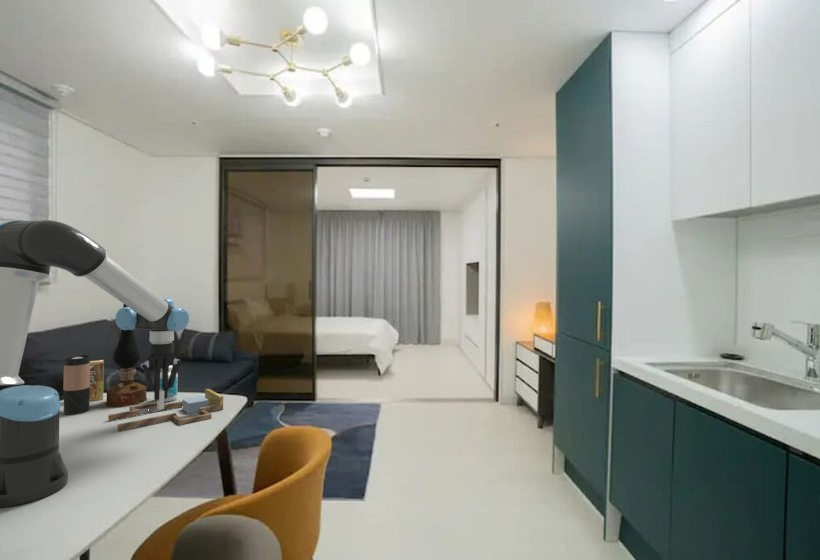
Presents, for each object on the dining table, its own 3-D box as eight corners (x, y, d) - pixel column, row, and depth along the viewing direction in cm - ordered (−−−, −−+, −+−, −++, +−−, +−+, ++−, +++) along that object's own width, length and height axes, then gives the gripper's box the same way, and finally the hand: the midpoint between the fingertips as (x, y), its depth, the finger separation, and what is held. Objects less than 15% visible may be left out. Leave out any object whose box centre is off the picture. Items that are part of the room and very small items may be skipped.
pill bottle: (181, 399, 171) (181, 366, 171) (162, 403, 165) (162, 369, 165) (171, 396, 175) (171, 363, 175) (152, 400, 169) (152, 366, 169)
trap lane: (124, 437, 130) (124, 421, 130) (103, 415, 150) (103, 401, 150) (231, 413, 154) (231, 400, 154) (201, 397, 174) (201, 385, 174)
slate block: (188, 414, 154) (188, 403, 154) (182, 410, 159) (182, 399, 159) (208, 410, 159) (208, 399, 159) (202, 406, 164) (202, 395, 164)
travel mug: (78, 415, 150) (79, 359, 150) (57, 414, 150) (58, 358, 150) (94, 408, 158) (95, 355, 158) (74, 408, 158) (75, 354, 158)
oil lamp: (115, 406, 172) (102, 309, 174) (156, 397, 175) (143, 302, 178) (99, 412, 158) (85, 307, 161) (144, 403, 162) (129, 300, 165)
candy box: (103, 397, 172) (103, 359, 172) (103, 399, 169) (103, 361, 169) (75, 400, 167) (75, 362, 167) (75, 403, 164) (75, 364, 163)
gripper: (178, 339, 158) (176, 402, 158) (137, 342, 148) (136, 410, 148) (185, 341, 152) (184, 407, 152) (143, 345, 143) (142, 415, 143)
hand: (160, 408), depth 150 cm, fingers closed
